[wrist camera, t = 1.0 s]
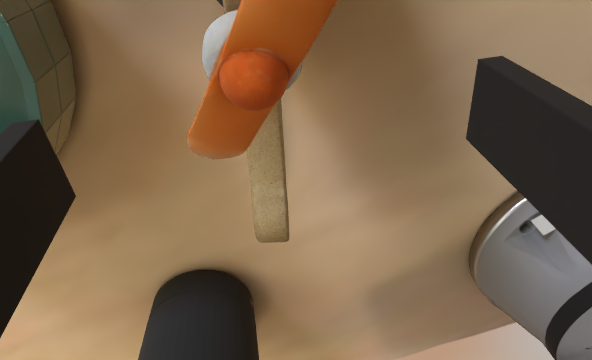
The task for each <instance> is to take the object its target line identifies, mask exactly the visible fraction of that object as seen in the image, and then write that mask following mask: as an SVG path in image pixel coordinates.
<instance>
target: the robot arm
mask: <svg viewBox="0 0 592 360" xmlns="http://www.w3.org/2000/svg"><path fill="white" fill-rule="evenodd" d="M466 139H467V140H468V141H469V142H470V143H471V144H472V145H473V146H474V147H475V148H476V149H477V150H478V151H479V152H480V153H481V154H482V155H483V156H484V157H485V158H486V159H487V160H488V161H489V162H490V163H491V164H492V165H493V166H494V167H495V168H496V169H497V170H498V171H499V172H500V173H501V174H502V175H503V176H504V177H505V178H506V179H507V180H508V181H509V182H510V183H511V184H512V185H513V186H514V187H515V188H516V189H517V190H518V191H519V192H518V193H517V194H516V195H514V196H513V197H511V198H510V199H509V200H507V201H506V202H505V203H504V204H502V205H501V206H500V207H499V208H498V209H497V210H496V211H495V212H494V213H493V214H492V215H491V216H490V217H489V218H488V220H487V221H486V222H485V223H484V225H483V226H482V227H481V229H480V231H479V232H478V234H477V236H476V238H475V240H474V242H473V245H472V247H471V251H470V257H469V267H470V272H471V275H472V277H473V279H474V281H475V282H476V284H477V285H478V287H479V289H480V290H481V291H482V293H483V294H484V295H485V296H486V297H487V298H488V300H489V301H490V302H491V303H492V304H494V305H495V306H497V307H498V308H500V309H501V310H503V311H504V312H505V313H506V314H508V315H509V316H510V317H511V318H512V319H513V320H515V321H516V322H517V323H518V324H519V325H521V326H522V327H523V328H525V329H526V330H527V331H528V332H529V333H531V334H532V335H533V336H535V337H536V338H537V339H538V340H540V341H541V342H542V343H543V344H544V346H545V347H546V348H547V350H548V351H549V352H550V354H551V355H552V357H553V358H554V359H555V360H592V106H590V105H589V104H587V103H585V102H583V101H582V100H580V99H578V98H576V97H574V96H573V95H571V94H569V93H567V92H566V91H564V90H562V89H560V88H558V87H557V86H555V85H553V84H551V83H550V82H548V81H546V80H544V79H542V78H541V77H539V76H537V75H535V74H534V73H532V72H530V71H528V70H526V69H525V68H523V67H521V66H519V65H517V64H516V63H514V62H512V61H510V60H509V59H507V58H505V57H503V56H499V57H491V58H484V59H478V64H477V71H476V77H475V84H474V90H473V97H472V103H471V110H470V116H469V123H468V129H467V136H466ZM75 197H76V195H75V193H74V191H73V189H72V187H71V185H70V183H69V181H68V179H67V177H66V175H65V173H64V170H63V168H62V166H61V164H60V162H59V160H58V158H57V156H56V154H55V152H54V150H53V148H52V146H51V143H50V141H49V139H48V137H47V135H46V133H45V131H44V129H43V127H42V125H41V123H40V121H39V119H37V120H30V121H23V122H15V123H11V124H10V125H9V126H8V127H7V128H6V129H5V130H4V131H3V132H2V133H1V134H0V337H1V336H2V334H3V332H4V330H5V328H6V326H7V324H8V322H9V321H10V319H11V317H12V315H13V313H14V311H15V309H16V307H17V306H18V304H19V302H20V300H21V298H22V296H23V294H24V292H25V291H26V289H27V287H28V285H29V283H30V281H31V279H32V277H33V276H34V274H35V272H36V270H37V268H38V266H39V264H40V262H41V261H42V259H43V257H44V255H45V253H46V251H47V249H48V247H49V246H50V244H51V242H52V240H53V238H54V236H55V234H56V233H57V231H58V229H59V227H60V225H61V223H62V221H63V219H64V218H65V216H66V214H67V212H68V210H69V208H70V206H71V204H72V203H73V201H74V199H75Z"/></svg>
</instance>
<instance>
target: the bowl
mask: <svg viewBox="0 0 592 360" xmlns="http://www.w3.org/2000/svg"><path fill="white" fill-rule="evenodd" d="M75 100H76V90H75V81H74V72H73V64H72V55H71V52H70V48H69V45H68V43H67V40H66V38H65V35H64V32H63V30H62V27H61V25H60V22H59V20H58V17H57V15H56V12H55V9H54V7H53V4H52V2H51V1H50V0H0V134H1V133H2V132H3V131H4V130H5V129H6V128H7V127H8V126H9V125H10V124H11V123H15V122H23V121H30V120H37V119H39V121H40V123H41V125H42V127H43V129H44V131H45V133H46V135H47V137H48V139H49V141H50V143H51V146H52V148H53V150H54V152H55V154H56V155H57V153H58V152H59V150H60V148H61V147H62V145H63V143H64V142H65V140H66V138H67V137H68V134H69V131H70V126H71V121H72V116H73V111H74V106H75Z"/></svg>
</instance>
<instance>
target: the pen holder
mask: <svg viewBox="0 0 592 360" xmlns="http://www.w3.org/2000/svg"><path fill="white" fill-rule="evenodd" d="M138 360H259V355H258V345H257V334H256V324H255V315H254V307H253V300H252V296H251V294H250V292H249V290H248V289H247V287H246V286H245V285H244V284H243V283H242V282H240V281H239V280H238V279H236V278H234V277H233V276H231V275H228V274H226V273H223V272H219V271H213V270H197V271H191V272H187V273H183V274H181V275H178V276H176V277H174V278H173V279H171V280H169V281H168V282H167V283H165V284H164V285H163V286H162V287H161V288H160V290H159V291H158V293H157V294H156V296H155V299H154V302H153V306H152V309H151V313H150V316H149V320H148V323H147V327H146V331H145V335H144V339H143V342H142V346H141V350H140V354H139V358H138Z"/></svg>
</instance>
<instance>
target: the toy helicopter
mask: <svg viewBox="0 0 592 360" xmlns="http://www.w3.org/2000/svg"><path fill="white" fill-rule="evenodd" d="M217 1H218V2H219V3H220V4H221V5H222V6H223V7H224V12H225V14H224V15H222V16H221V17H219V18H217V19H216V20H215V21H214V22H213V23H212V24H211V25H210V26H209V28H208V29H207V31H206V33H205V36H204V40H203V49H202V63H203V67H204V70H205V73H206V75H207V77H208V78H209V79H210V83H209V86H208V88H207V90H206V93H205V96H204V98H203V101H202V103H201V105H200V107H199V109H198V112H197V114H196V117H195V119H194V121H193V124H192V126H191V128H190V130H189V132H188V135H187V143H188V145H189V147H190V149H191V150H192V151H193V152H194V153H196V154H197V155H199V156H202V157H205V158H210V159H224V158H231V157H234V156H238V155H240V154H242V153H244V152H245V151H246V150H247V156H248V163H249V171H250V179H251V191H252V205H253V217H254V227H255V234H256V238H257V240H258V241H259V242H261V243H268V242H287V241H288V240H289V217H288V202H287V190H286V172H285V155H284V140H283V125H282V108H281V97H282V95H283V94H284V91H285V90H286V89H288V88H289V87H290V86H291V85H292V84H293V83H294V82H295V80H296V79H297V78H298V75H299V73H300V71H301V66H302V60H303V59H304V57H305V55H306V54H307V52H308V51H309V49H310V47H311V46H312V44H313V42H314V41H315V39H316V37H317V35H318V34H319V32H320V30H321V29H322V27H323V25H324V23H325V22H326V20H327V18H328V16H329V15H330V13H331V11H332V9H333V8H334V6H335V4H336V2H337V1H338V0H217Z"/></svg>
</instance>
